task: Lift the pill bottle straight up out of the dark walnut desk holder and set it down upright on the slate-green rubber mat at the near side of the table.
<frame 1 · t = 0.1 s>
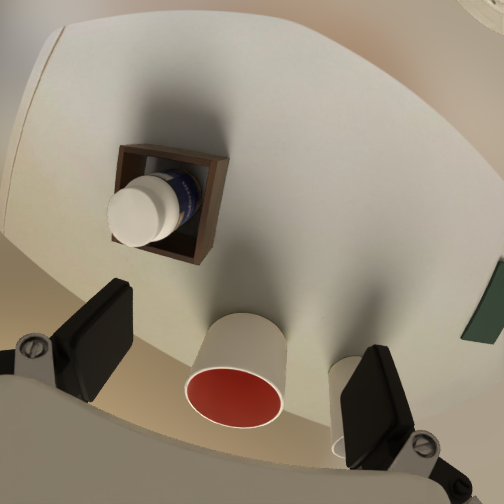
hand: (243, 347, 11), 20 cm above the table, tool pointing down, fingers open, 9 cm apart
holder: (177, 194, 30), on the table
mat: (496, 305, 29), on the table
mug: (357, 363, 35), on the table
pill bottle: (177, 194, 30), resting in holder
cup: (247, 340, 36), on the table
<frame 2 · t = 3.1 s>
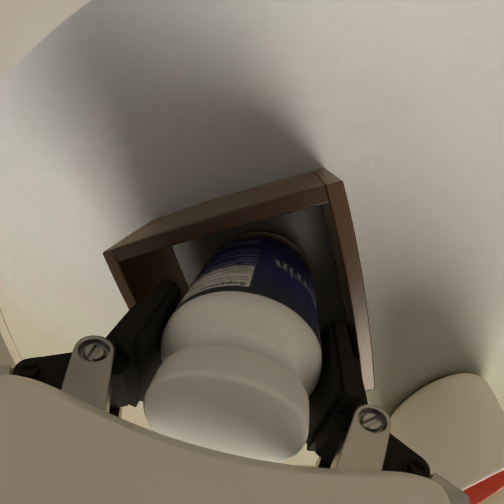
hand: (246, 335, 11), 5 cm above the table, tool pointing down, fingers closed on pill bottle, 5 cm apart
holder: (259, 278, 16), on the table
pill bottle: (260, 276, 16), resting in holder, touching gripper
cup: (434, 406, 19), on the table
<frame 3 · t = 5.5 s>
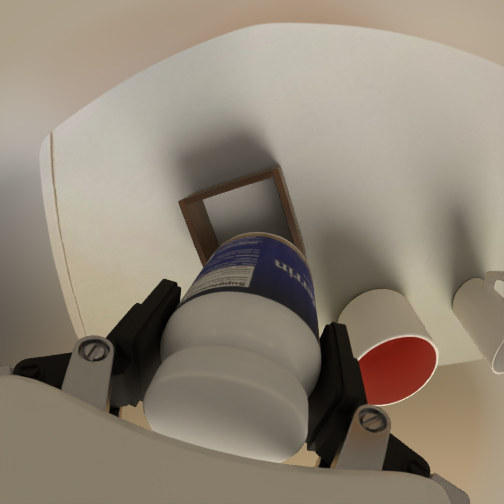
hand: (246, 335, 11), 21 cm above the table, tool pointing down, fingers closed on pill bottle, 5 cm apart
holder: (250, 221, 31), on the table
mug: (471, 287, 31), on the table
pill bottle: (259, 277, 16), point 16 cm above the table, touching gripper
cup: (373, 319, 34), on the table
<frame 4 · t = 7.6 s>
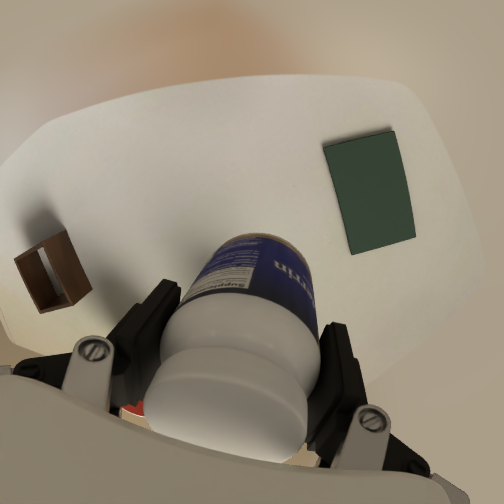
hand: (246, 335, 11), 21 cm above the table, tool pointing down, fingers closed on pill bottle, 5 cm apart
holder: (60, 267, 38), on the table
mat: (373, 193, 29), on the table
pill bottle: (259, 277, 16), point 16 cm above the table, touching gripper
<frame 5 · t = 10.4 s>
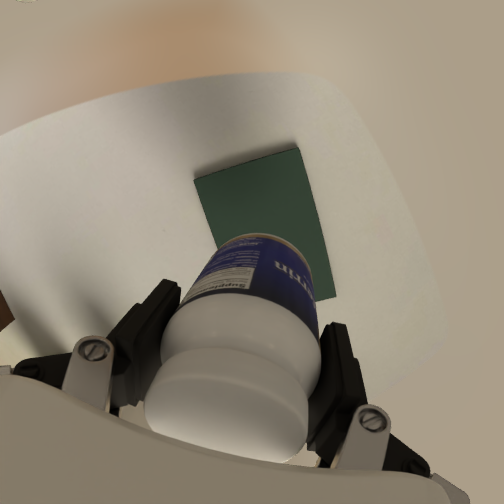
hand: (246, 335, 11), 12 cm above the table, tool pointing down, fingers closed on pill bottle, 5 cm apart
mat: (269, 238, 22), on the table
mug: (151, 380, 31), on the table
pill bottle: (259, 278, 16), point 7 cm above the table, touching gripper
when the fingers open (6 cm above the table, at t = 12.4 s): pill bottle stays where it is, resting on mat.
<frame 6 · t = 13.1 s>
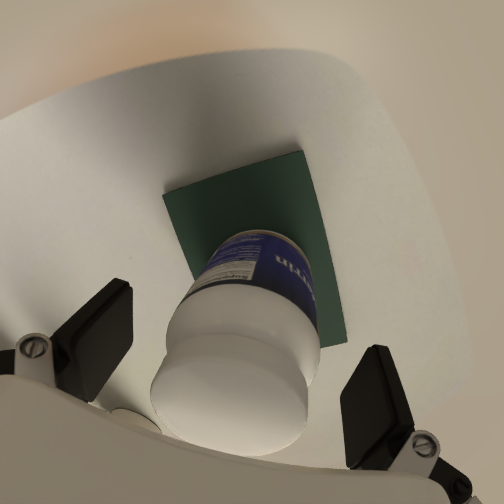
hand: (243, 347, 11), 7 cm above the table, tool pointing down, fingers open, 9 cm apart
mat: (262, 271, 17), on the table
mug: (132, 416, 25), on the table
pill bottle: (260, 273, 17), resting on mat
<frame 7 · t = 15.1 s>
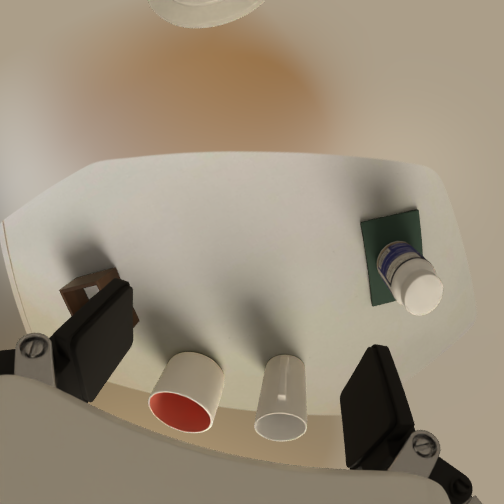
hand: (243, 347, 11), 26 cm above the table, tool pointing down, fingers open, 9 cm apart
holder: (106, 298, 44), on the table
mat: (395, 259, 35), on the table
mug: (285, 360, 43), on the table
pill bottle: (395, 260, 35), resting on mat
cup: (197, 370, 46), on the table
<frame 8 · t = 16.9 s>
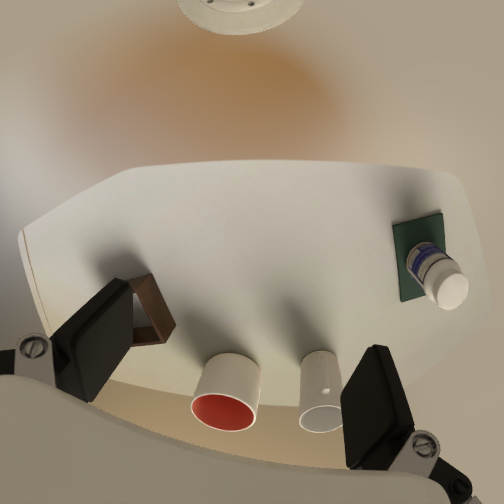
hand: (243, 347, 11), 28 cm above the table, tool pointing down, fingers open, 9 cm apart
holder: (140, 305, 46), on the table
mat: (421, 258, 37), on the table
mug: (320, 356, 45), on the table
pill bottle: (422, 259, 36), resting on mat
cup: (234, 370, 48), on the table
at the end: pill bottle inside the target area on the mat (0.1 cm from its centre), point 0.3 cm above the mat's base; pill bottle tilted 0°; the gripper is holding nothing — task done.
